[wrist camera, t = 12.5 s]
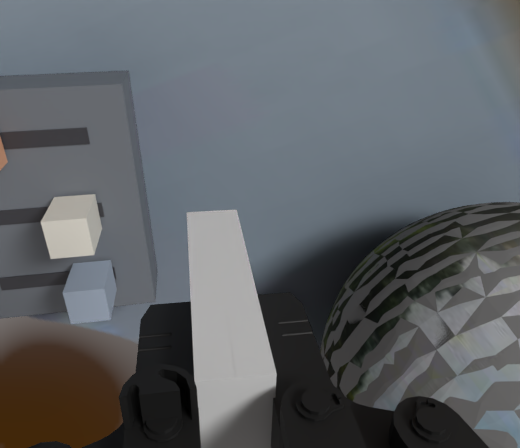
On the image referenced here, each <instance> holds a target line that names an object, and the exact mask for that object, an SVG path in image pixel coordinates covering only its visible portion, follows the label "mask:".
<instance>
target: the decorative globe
mask: <svg viewBox="0 0 520 448" xmlns="http://www.w3.org/2000/svg"><path fill="white" fill-rule="evenodd" d="M320 353H321V355H322V358H323V361H324V363H325V366H326V369H327V372H328V374H329V377H330V379H331V381H332V383H333V385H334V386H335V387H336V388H338V389H339V390H340V391H342V392H343V394H344V396H345V397H346V398H348V399H349V400H351V401H353V402H355V403H357V404H360V405H364V406H368V407H373V408H379V409H385V410H391V411H395V409H396V407H397V405H398V403H400V402H402V401H403V400H405V399H406V398H410V397H416V396H423V397H429V398H434V399H436V400H438V401H440V402H442V403H445V404H447V405H448V406H449V407H450V408H452V409H453V410H454V411H455V412H456V413H458V414H459V415H460V416H461V418H462V419H463V420H464V421H465V422H466V423H467V424H468V425H469V426H470V427H471V428H472V430H473V431H474V432H475V433H476V434H477V435H478V436H479V437H480V438H481V439H482V440H483V441H484V443H485V444H486V445H487V446H488V447H489V448H520V203H515V202H495V203H484V204H476V205H467V206H462V207H457V208H453V209H449V210H445V211H442V212H439V213H436V214H433V215H431V216H428V217H425V218H423V219H421V220H418V221H416V222H414V223H412V224H410V225H408V226H406V227H405V228H403V229H401V230H399V231H398V232H396V233H395V234H393V235H392V236H390V237H389V238H387V239H386V240H385V241H383V242H382V243H381V244H380V245H378V246H377V247H376V248H375V249H374V250H373V251H372V252H371V253H370V254H369V255H367V256H366V257H365V258H364V260H363V261H362V262H361V263H360V264H359V265H358V266H357V267H356V269H355V270H354V271H353V273H352V274H351V275H350V277H349V278H348V279H347V281H346V282H345V284H344V286H343V287H342V289H341V291H340V293H339V295H338V296H337V298H336V300H335V303H334V305H333V307H332V309H331V312H330V315H329V317H328V320H327V323H326V326H325V330H324V334H323V338H322V343H321V349H320Z"/></svg>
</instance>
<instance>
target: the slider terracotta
mask: <svg viewBox="0 0 520 448" xmlns="http://www.w3.org/2000/svg"><path fill="white" fill-rule="evenodd" d="M7 162H8V161H7V158H6V154H5V151H4V147H3V144H2V140H1V137H0V170H1V169H2V168H3V167H4V166H5V165H6V164H7Z"/></svg>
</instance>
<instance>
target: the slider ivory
mask: <svg viewBox="0 0 520 448" xmlns="http://www.w3.org/2000/svg"><path fill="white" fill-rule="evenodd" d="M41 225H42V229H43V233H44V236H45V240H46V244H47V247H48V251H49V255H50V258H51V259H57V258H68V257H79V256H90V255H94V254H95V251H96V247H97V244H98V241H99V237H100V234H101V230H102V225H101V220H100V216H99V211H98V206H97V201H96V196H95V194H89V195H76V196H62V197H54V198H53V200H52V202H51V204H50V206H49V207H48V209H47V211H46V213H45V215H44V217H43V218H42V220H41Z"/></svg>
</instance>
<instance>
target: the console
mask: <svg viewBox="0 0 520 448" xmlns="http://www.w3.org/2000/svg"><path fill="white" fill-rule="evenodd" d="M0 137H1V140H2V144H3V147H4V151H5V154H6V158H7V161H8V162H7V164H6V165H5V166H4V167H3V168H2V169H1V170H0V318H9V317H19V316H28V315H38V314H47V313H57V312H66V311H67V307H66V304H65V300H64V296H63V290H64V287H65V285H66V282H67V279H68V276H69V273H70V271H71V268H72V265H73V263H83V262H94V261H105V260H111V263H112V268H113V273H114V278H115V283H116V288H117V291H116V296H115V301H114V306H123V305H133V304H142V303H152V302H155V300H156V285H157V264H156V257H155V250H154V243H153V236H152V229H151V222H150V215H149V208H148V201H147V195H146V188H145V181H144V174H143V167H142V160H141V153H140V146H139V139H138V132H137V125H136V118H135V111H134V105H133V98H132V91H131V84H130V77H129V71H108V72H85V73H62V74H39V75H16V76H0ZM89 194H95V196H96V201H97V206H98V211H99V216H100V220H101V225H102V230H101V234H100V237H99V241H98V244H97V247H96V251H95V254H94V255H90V256H79V257H68V258H57V259H51V258H50V255H49V251H48V247H47V244H46V240H45V236H44V233H43V229H42V225H41V220H42V218H43V217H44V215H45V213H46V211H47V209H48V207H49V206H50V204H51V202H52V200H53V198H54V197H62V196H76V195H89ZM114 306H113V307H114Z"/></svg>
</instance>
